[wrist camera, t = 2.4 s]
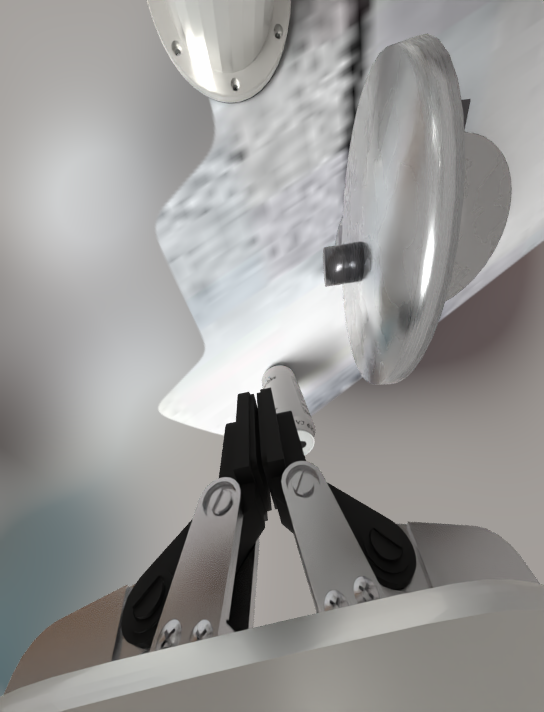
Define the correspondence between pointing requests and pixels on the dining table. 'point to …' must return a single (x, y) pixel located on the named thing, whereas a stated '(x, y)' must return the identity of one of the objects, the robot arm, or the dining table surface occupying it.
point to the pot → (477, 208)
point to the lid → (400, 208)
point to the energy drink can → (290, 402)
